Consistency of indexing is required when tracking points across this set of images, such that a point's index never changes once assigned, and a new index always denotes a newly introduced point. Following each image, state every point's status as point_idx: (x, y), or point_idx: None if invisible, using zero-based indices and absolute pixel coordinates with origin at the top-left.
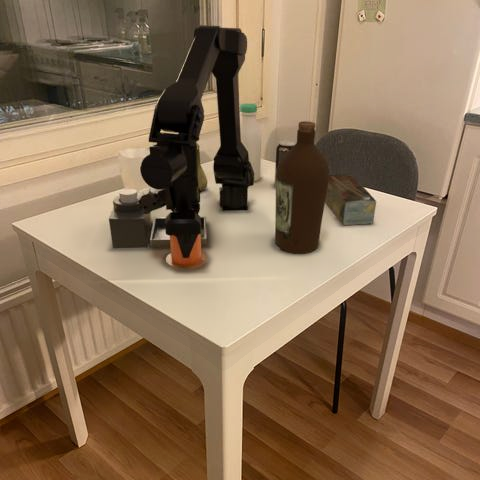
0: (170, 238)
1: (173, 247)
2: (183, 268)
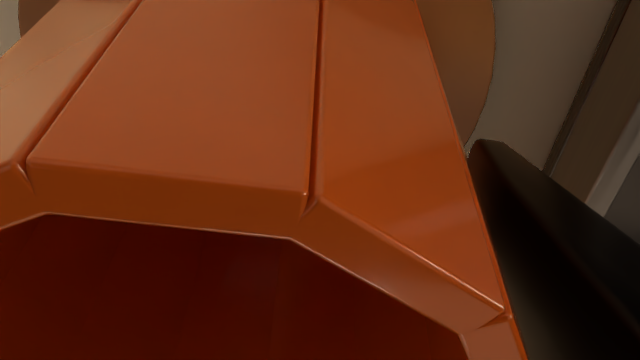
0: (108, 21)
1: (67, 3)
2: (18, 16)
